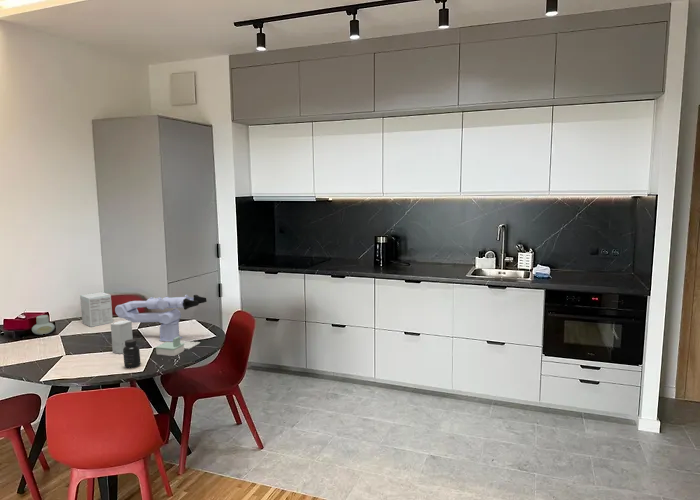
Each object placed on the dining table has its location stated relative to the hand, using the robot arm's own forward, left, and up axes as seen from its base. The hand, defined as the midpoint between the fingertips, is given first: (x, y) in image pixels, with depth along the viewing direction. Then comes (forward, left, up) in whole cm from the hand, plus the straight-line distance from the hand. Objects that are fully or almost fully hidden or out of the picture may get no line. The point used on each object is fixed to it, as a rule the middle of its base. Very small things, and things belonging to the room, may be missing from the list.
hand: (202, 301), depth 254 cm
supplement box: (-84, +19, -22) cm, 89 cm away
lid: (-7, -19, -20) cm, 28 cm away
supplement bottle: (-13, -39, -22) cm, 47 cm away
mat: (-7, -7, -22) cm, 24 cm away
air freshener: (-98, -6, -22) cm, 101 cm away
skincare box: (-32, -22, -22) cm, 45 cm away
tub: (-7, -19, -22) cm, 30 cm away
